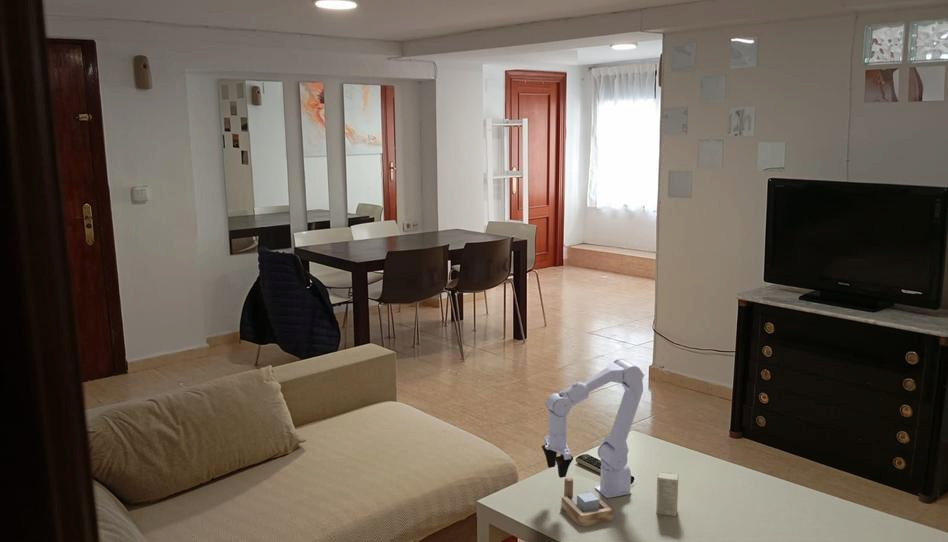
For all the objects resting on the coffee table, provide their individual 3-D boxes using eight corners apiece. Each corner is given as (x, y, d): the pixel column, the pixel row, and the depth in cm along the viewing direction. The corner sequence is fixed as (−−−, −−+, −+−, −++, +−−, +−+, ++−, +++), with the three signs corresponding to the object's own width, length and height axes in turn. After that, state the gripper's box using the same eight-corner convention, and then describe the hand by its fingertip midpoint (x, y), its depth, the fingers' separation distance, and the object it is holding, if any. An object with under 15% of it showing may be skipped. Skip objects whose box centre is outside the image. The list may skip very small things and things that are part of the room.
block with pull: (573, 493, 250) (573, 476, 249) (598, 517, 235) (599, 499, 234) (559, 496, 248) (560, 479, 247) (584, 520, 233) (585, 502, 232)
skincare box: (677, 510, 239) (679, 474, 237) (676, 517, 235) (678, 480, 233) (656, 507, 241) (658, 471, 239) (655, 513, 237) (657, 477, 235)
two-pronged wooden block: (591, 501, 244) (591, 491, 244) (612, 520, 233) (612, 509, 232) (561, 507, 241) (561, 497, 240) (580, 526, 229) (581, 515, 228)
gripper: (535, 425, 246) (535, 464, 249) (556, 442, 233) (556, 483, 235) (555, 422, 249) (554, 461, 251) (577, 438, 235) (576, 479, 238)
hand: (556, 471), depth 244 cm, fingers open, 7 cm apart
